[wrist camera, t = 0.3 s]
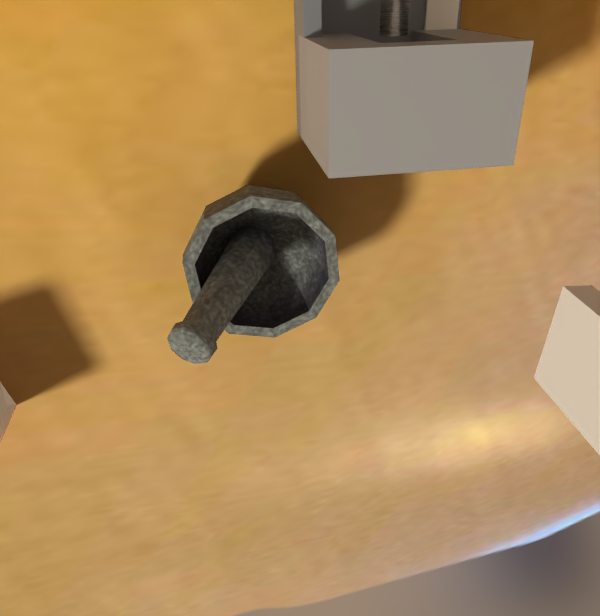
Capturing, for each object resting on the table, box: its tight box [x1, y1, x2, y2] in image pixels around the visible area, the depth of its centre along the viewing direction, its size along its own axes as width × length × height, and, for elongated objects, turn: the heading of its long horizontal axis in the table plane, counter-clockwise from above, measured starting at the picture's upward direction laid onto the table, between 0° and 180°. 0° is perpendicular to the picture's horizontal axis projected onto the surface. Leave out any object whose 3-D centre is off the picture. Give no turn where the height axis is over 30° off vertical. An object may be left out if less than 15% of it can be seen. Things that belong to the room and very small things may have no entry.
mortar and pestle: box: [168, 185, 339, 364], centre depth 35 cm, size 11×9×12 cm
